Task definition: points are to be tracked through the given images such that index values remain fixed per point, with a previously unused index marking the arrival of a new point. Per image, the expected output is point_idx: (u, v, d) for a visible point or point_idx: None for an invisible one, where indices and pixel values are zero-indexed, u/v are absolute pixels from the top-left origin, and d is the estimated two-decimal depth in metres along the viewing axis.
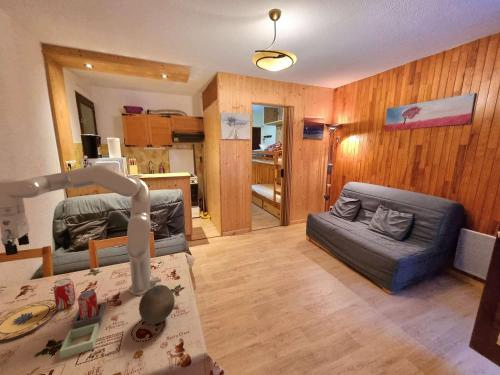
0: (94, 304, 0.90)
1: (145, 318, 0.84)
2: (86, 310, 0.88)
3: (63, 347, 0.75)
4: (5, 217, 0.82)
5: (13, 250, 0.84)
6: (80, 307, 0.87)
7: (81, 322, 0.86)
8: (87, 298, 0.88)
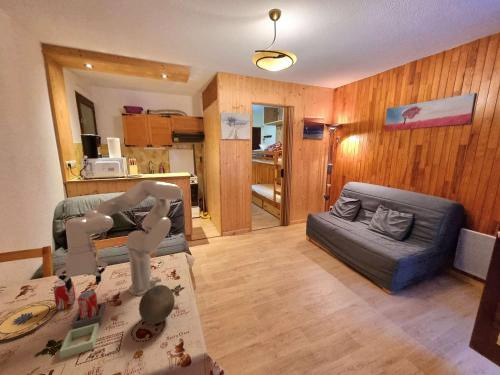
0: (94, 304, 0.90)
1: (145, 318, 0.84)
2: (86, 310, 0.88)
3: (63, 347, 0.75)
4: (93, 250, 0.88)
5: None
6: (80, 307, 0.87)
7: (81, 322, 0.86)
8: (87, 298, 0.88)
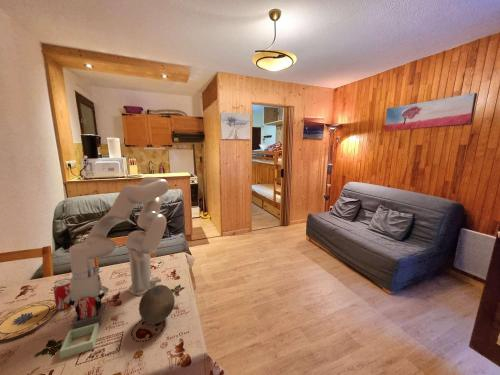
0: (94, 304, 0.90)
1: (145, 318, 0.84)
2: (85, 310, 0.88)
3: (63, 347, 0.75)
4: (96, 274, 0.90)
5: None
6: (80, 307, 0.87)
7: (81, 322, 0.86)
8: (87, 298, 0.88)
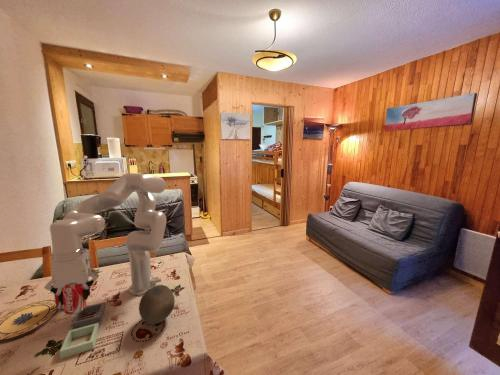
0: (82, 292, 0.76)
1: (145, 318, 0.84)
2: (71, 299, 0.74)
3: (63, 347, 0.75)
4: (84, 257, 0.76)
5: None
6: (64, 295, 0.74)
7: (81, 322, 0.86)
8: (73, 285, 0.74)
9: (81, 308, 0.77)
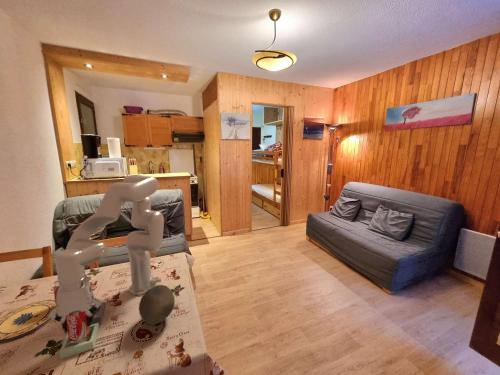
0: (85, 320, 0.78)
1: (145, 318, 0.84)
2: (74, 327, 0.76)
3: (63, 347, 0.75)
4: (87, 284, 0.78)
5: None
6: (68, 323, 0.75)
7: None
8: (77, 313, 0.76)
9: (84, 335, 0.78)
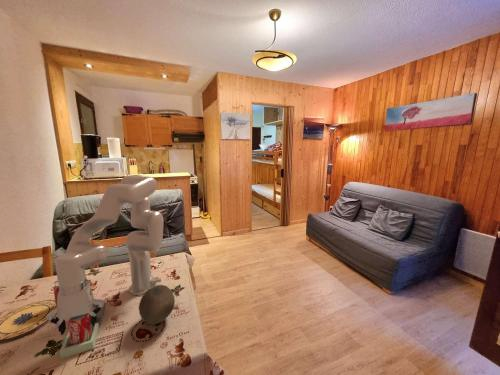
0: (88, 326, 0.79)
1: (145, 318, 0.84)
2: (77, 333, 0.76)
3: (63, 347, 0.75)
4: (88, 287, 0.78)
5: None
6: (71, 331, 0.76)
7: None
8: (79, 320, 0.76)
9: None
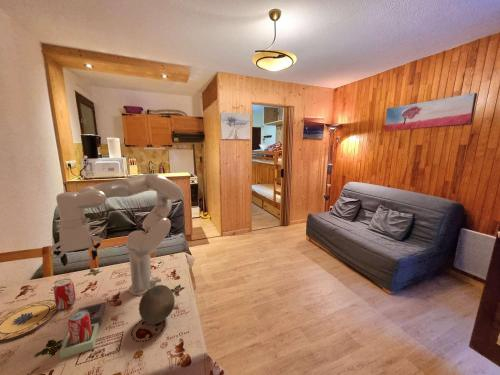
0: (87, 326, 0.79)
1: (145, 318, 0.84)
2: (77, 333, 0.76)
3: (63, 347, 0.75)
4: (87, 225, 0.87)
5: None
6: (71, 331, 0.76)
7: None
8: (79, 320, 0.76)
9: None
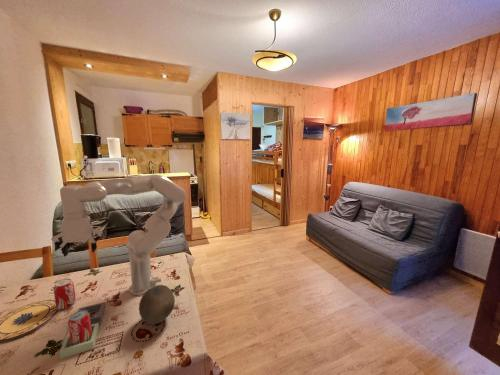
0: (87, 326, 0.79)
1: (145, 318, 0.84)
2: (77, 333, 0.76)
3: (63, 347, 0.75)
4: (88, 218, 0.90)
5: None
6: (71, 331, 0.76)
7: None
8: (79, 320, 0.76)
9: None
